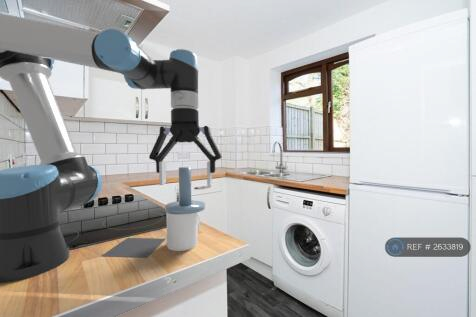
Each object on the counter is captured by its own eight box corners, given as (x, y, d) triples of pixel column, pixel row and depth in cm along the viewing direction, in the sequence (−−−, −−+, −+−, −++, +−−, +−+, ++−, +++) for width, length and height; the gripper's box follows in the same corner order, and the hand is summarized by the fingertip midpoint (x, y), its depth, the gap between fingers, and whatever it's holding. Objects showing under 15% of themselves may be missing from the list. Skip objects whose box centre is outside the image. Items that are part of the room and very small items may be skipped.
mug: (189, 234, 73) (188, 202, 73) (210, 239, 69) (210, 205, 69) (160, 249, 62) (159, 212, 62) (183, 255, 59) (183, 216, 58)
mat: (100, 258, 57) (100, 256, 57) (127, 239, 69) (127, 237, 69) (146, 260, 56) (146, 257, 56) (166, 240, 68) (165, 238, 68)
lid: (158, 213, 60) (157, 169, 60) (173, 203, 71) (173, 166, 71) (199, 214, 59) (198, 169, 59) (208, 204, 70) (208, 166, 70)
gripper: (135, 107, 62) (137, 186, 62) (227, 105, 60) (227, 186, 60) (148, 112, 69) (149, 182, 70) (230, 110, 67) (231, 182, 68)
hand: (186, 184), depth 65 cm, fingers open, 13 cm apart
